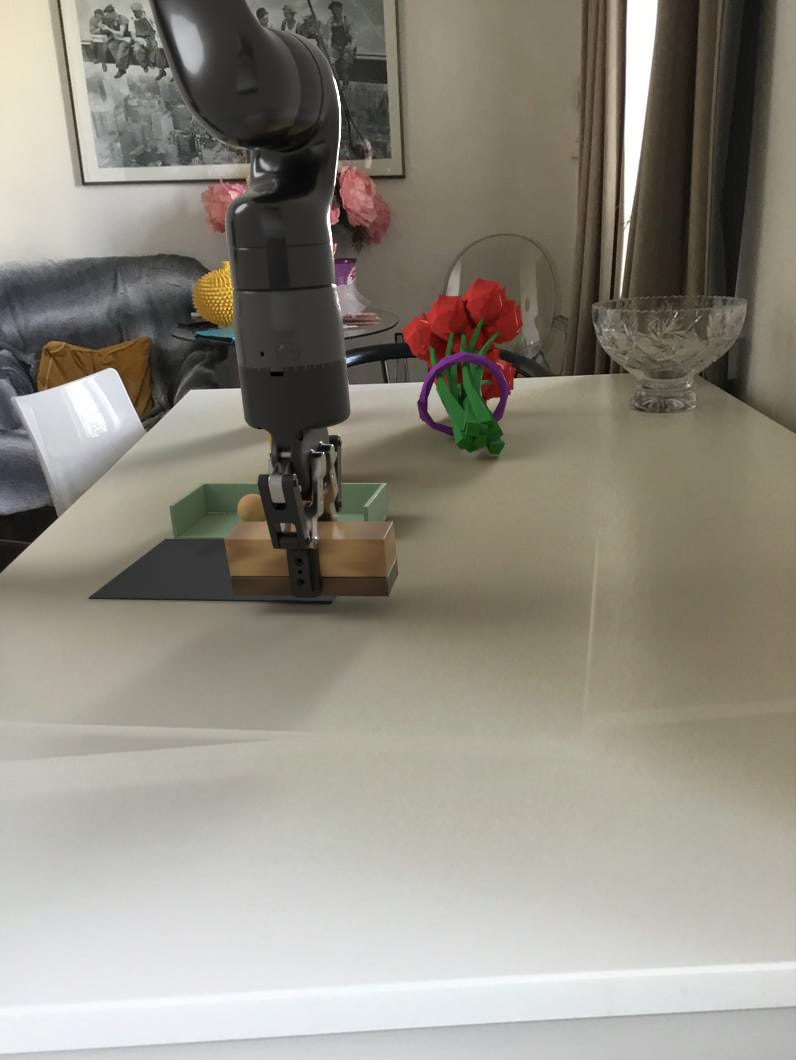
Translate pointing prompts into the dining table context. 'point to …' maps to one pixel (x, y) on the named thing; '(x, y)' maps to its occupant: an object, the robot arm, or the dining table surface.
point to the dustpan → (216, 503)
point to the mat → (184, 576)
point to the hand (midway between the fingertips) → (315, 584)
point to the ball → (251, 509)
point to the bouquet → (467, 361)
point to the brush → (344, 554)
